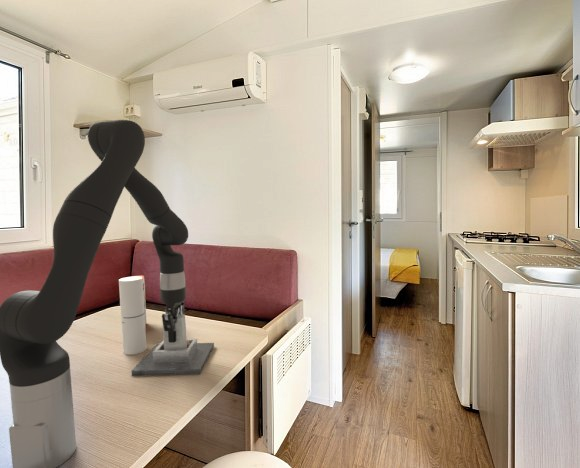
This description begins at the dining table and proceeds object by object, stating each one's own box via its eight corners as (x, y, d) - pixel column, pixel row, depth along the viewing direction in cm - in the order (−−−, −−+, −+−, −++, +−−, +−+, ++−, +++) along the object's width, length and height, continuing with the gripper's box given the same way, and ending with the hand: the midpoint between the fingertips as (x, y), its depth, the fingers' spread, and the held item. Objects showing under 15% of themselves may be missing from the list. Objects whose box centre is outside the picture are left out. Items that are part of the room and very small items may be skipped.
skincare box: (187, 349, 104) (185, 314, 102) (183, 355, 99) (181, 318, 98) (168, 350, 103) (166, 314, 102) (163, 356, 99) (161, 319, 98)
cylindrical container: (137, 355, 105) (132, 281, 103) (118, 353, 107) (113, 280, 104) (150, 346, 112) (146, 276, 110) (132, 344, 114) (128, 276, 111)
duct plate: (200, 374, 93) (199, 357, 92) (131, 375, 93) (130, 359, 92) (214, 346, 111) (213, 333, 110) (156, 348, 111) (155, 334, 110)
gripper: (177, 291, 92) (179, 348, 94) (191, 280, 107) (193, 329, 108) (151, 292, 92) (154, 349, 94) (169, 280, 107) (171, 330, 108)
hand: (175, 338), depth 101 cm, fingers open, 4 cm apart
